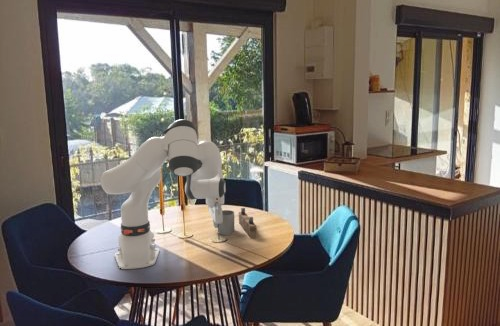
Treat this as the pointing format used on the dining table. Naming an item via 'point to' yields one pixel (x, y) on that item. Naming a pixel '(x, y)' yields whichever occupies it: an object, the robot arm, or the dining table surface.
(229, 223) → the cup
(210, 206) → the robot arm
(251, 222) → the stop fence
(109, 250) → the dining table surface
